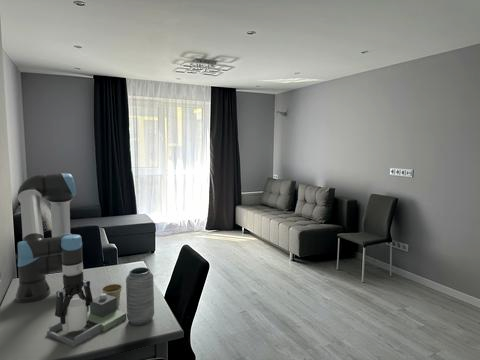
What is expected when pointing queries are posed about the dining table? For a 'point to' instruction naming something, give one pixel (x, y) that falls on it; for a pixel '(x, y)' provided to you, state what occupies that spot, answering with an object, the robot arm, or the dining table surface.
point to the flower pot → (113, 291)
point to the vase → (140, 296)
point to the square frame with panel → (94, 319)
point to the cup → (76, 314)
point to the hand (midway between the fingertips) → (75, 325)
